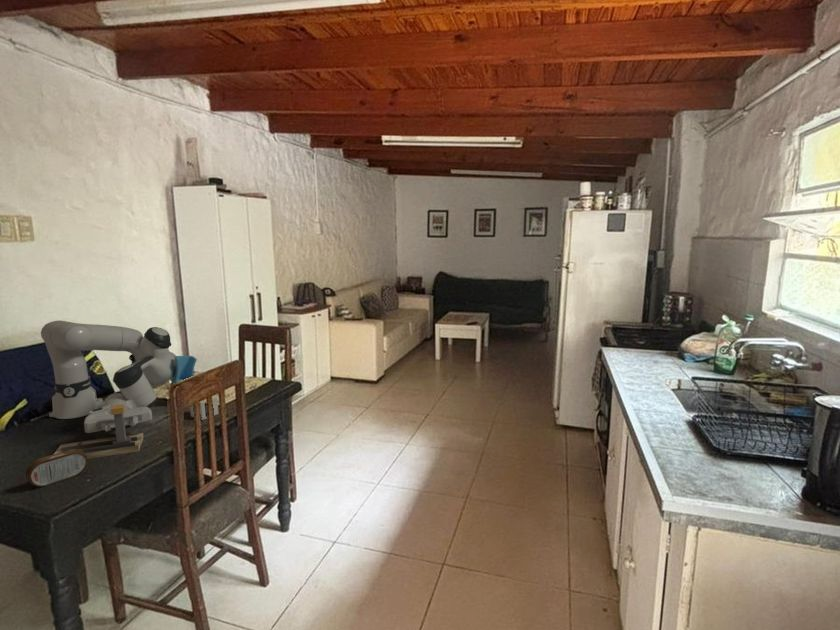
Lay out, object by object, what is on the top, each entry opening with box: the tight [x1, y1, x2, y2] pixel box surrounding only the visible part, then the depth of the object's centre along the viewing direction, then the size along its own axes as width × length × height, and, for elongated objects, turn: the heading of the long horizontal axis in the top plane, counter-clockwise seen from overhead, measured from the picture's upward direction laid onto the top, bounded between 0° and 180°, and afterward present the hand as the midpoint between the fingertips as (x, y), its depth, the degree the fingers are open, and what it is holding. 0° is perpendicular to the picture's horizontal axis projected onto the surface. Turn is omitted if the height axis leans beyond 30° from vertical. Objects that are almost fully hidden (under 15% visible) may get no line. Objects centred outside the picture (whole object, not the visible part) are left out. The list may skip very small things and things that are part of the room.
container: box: [189, 395, 219, 421], centre depth 194 cm, size 8×8×13 cm
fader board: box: [53, 432, 145, 460], centre depth 163 cm, size 12×25×3 cm, turn 112°
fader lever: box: [111, 404, 131, 445], centre depth 162 cm, size 4×5×14 cm
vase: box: [170, 355, 198, 384], centre depth 209 cm, size 8×8×20 cm
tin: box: [25, 449, 89, 488], centre depth 143 cm, size 15×3×8 cm, turn 141°
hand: (120, 426), depth 162 cm, fingers open, 6 cm apart
